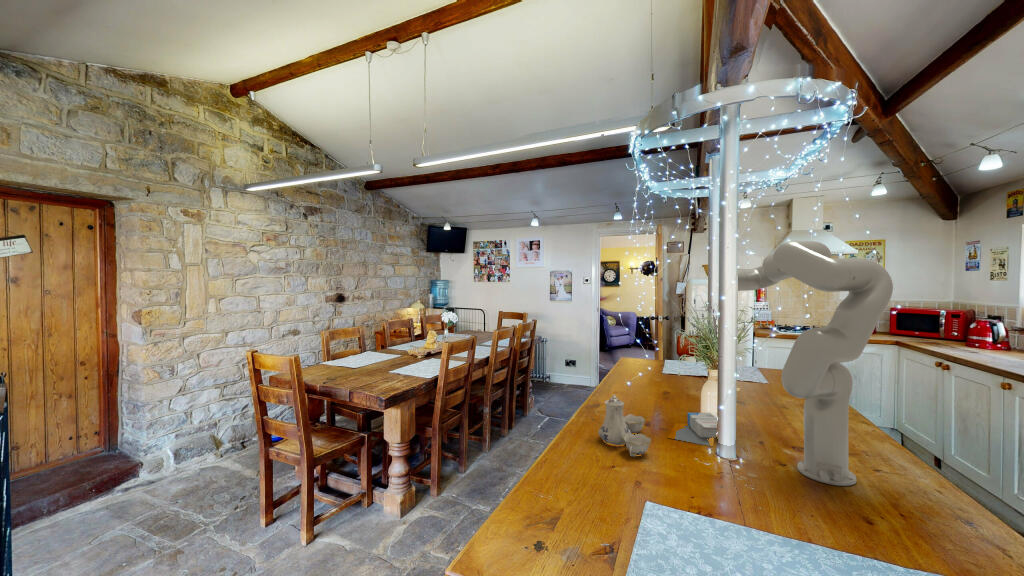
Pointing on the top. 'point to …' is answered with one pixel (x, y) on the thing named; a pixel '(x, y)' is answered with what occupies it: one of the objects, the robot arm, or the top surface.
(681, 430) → the mat
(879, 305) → the robot arm
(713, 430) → the ink box
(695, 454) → the top surface
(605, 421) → the chinaware
